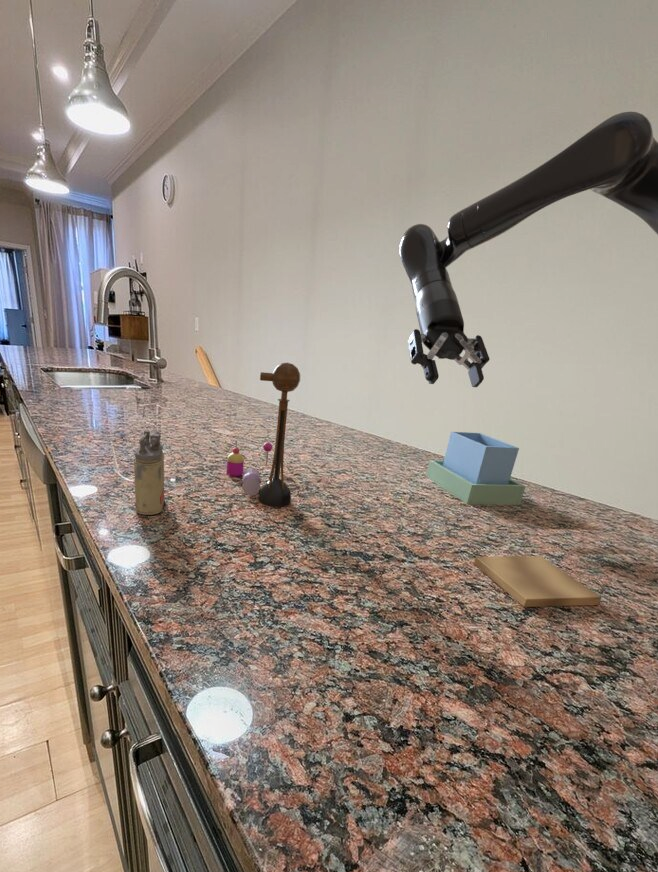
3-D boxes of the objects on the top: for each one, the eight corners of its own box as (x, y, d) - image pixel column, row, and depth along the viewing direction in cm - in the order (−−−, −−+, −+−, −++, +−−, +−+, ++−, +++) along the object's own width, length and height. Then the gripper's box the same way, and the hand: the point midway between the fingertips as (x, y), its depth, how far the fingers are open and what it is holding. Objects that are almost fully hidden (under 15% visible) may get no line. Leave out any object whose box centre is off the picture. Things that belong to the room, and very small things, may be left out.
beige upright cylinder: (160, 516, 59) (159, 441, 55) (131, 515, 58) (127, 440, 54) (165, 497, 65) (165, 429, 61) (138, 496, 65) (136, 427, 61)
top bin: (465, 487, 80) (480, 432, 76) (500, 509, 71) (519, 448, 67) (437, 487, 79) (450, 431, 75) (469, 508, 70) (486, 446, 66)
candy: (274, 497, 69) (278, 459, 67) (222, 494, 68) (224, 455, 66) (270, 464, 85) (273, 432, 83) (228, 461, 85) (230, 429, 83)
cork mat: (538, 563, 55) (541, 556, 55) (598, 605, 47) (602, 597, 47) (473, 563, 54) (475, 556, 53) (523, 607, 45) (526, 599, 45)
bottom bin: (469, 487, 82) (476, 461, 80) (516, 516, 70) (526, 486, 68) (423, 486, 81) (429, 459, 79) (463, 515, 69) (472, 484, 67)
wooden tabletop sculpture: (252, 506, 65) (262, 361, 57) (251, 494, 69) (260, 359, 61) (292, 507, 65) (307, 365, 58) (288, 496, 70) (302, 362, 62)
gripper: (412, 293, 80) (429, 365, 74) (483, 301, 83) (505, 371, 77) (395, 324, 87) (409, 393, 81) (461, 331, 90) (479, 398, 84)
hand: (456, 382), depth 79 cm, fingers open, 8 cm apart
